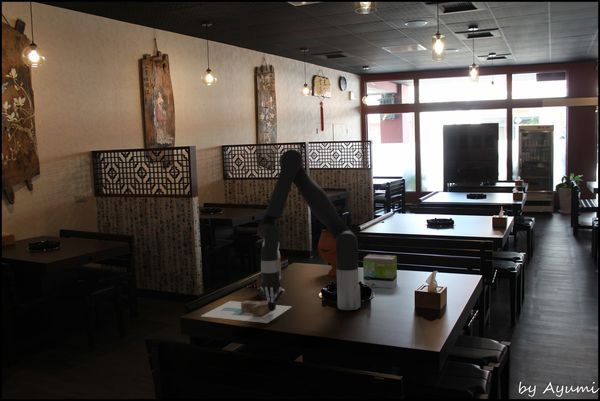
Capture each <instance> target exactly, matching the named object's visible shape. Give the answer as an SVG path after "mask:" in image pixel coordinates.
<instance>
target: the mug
mask: <svg viewBox="0 0 600 401" xmlns="http://www.w3.org/2000/svg"><path fill="white" fill-rule="evenodd" d="M256 284H257V286H256V287H257V288H256V290H257V289H258V288H260V287H261V285H262V276H261V273H260V274H257V276H256ZM264 292H265V291H264ZM265 293H266V292H265ZM257 295H258V296H260V297H261V295H260V294H259V293H258V292H257Z"/></svg>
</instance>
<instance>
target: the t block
mask: <svg viewBox="0 0 600 401" xmlns="http://www.w3.org/2000/svg"><path fill="white" fill-rule="evenodd" d="M241 302H242V303H241V312H247V313H253V316H254V317H263V316H264V315H266V314H268V313H269V312H271V311H270V309H269V308H268V301H264V300H263V301H256V300H244V301H241Z"/></svg>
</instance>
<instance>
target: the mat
mask: <svg viewBox="0 0 600 401" xmlns="http://www.w3.org/2000/svg"><path fill="white" fill-rule="evenodd" d="M242 302H243V301H234V300H229V301H227V302H225V303H223V304H221V305H219V306H217V307H216V308H214V309H211V310H209V311H208V312H205V313H204V314H202V315H200V317H201V318H202V317H206V318H212V319H213V318H215V319H225V320H233V321H234V320H235V321H243V322H253V323H262V324H263V323H264V324H268V323H270V322H271V321H273V320H275V319H276V318H277V317H279V316H281V315H282V314H284V313H285V312H286V311H288V310H289V309H291V308H293V306H290V305H280V304H279V305H278V304H276V309H275V310H274V311H271V312H269V313H268V314H266V315H264V316H263V317H254V316H253V313H247V312H241V303H242Z"/></svg>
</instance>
